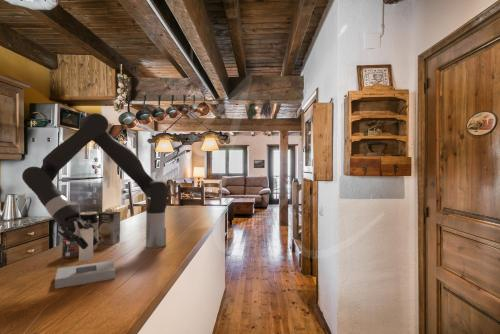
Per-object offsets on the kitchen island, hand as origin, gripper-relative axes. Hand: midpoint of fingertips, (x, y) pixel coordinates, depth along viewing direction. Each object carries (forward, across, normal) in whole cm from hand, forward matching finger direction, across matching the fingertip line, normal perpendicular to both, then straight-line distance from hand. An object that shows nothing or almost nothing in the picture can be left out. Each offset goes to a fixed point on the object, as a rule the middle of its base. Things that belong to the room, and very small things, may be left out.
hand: (91, 245), depth 103 cm
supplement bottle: (-10, +20, +27) cm, 35 cm away
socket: (+7, 0, +10) cm, 12 cm away
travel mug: (-10, +31, +27) cm, 42 cm away
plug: (+2, 0, +5) cm, 5 cm away
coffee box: (-10, +46, +26) cm, 53 cm away
